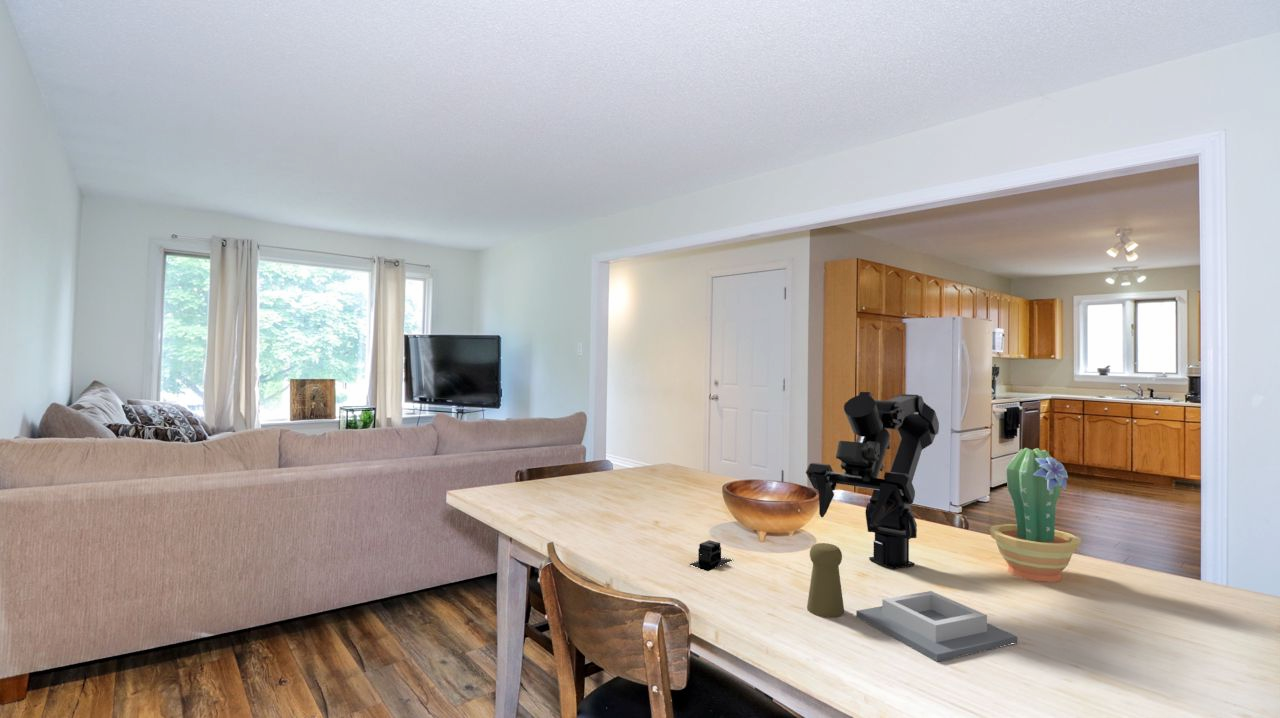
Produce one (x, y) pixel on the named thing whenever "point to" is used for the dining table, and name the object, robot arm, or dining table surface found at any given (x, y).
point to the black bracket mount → (709, 556)
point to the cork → (825, 581)
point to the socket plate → (935, 625)
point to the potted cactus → (1035, 519)
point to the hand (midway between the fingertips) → (845, 520)
